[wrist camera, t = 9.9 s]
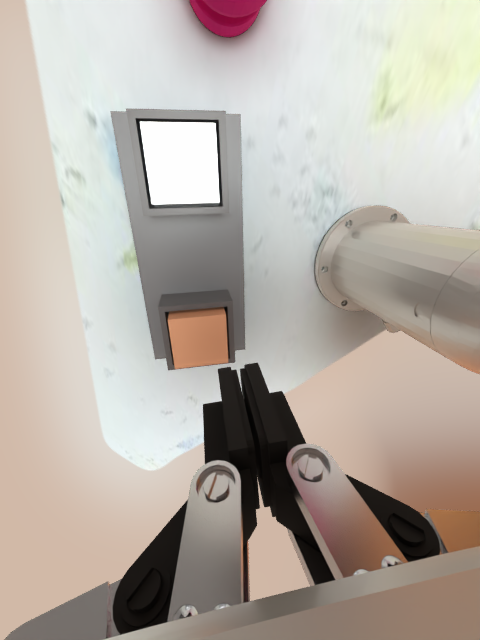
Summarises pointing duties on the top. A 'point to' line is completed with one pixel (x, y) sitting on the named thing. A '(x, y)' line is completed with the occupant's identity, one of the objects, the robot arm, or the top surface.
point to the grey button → (181, 162)
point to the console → (186, 231)
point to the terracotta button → (198, 337)
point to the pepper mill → (227, 15)
